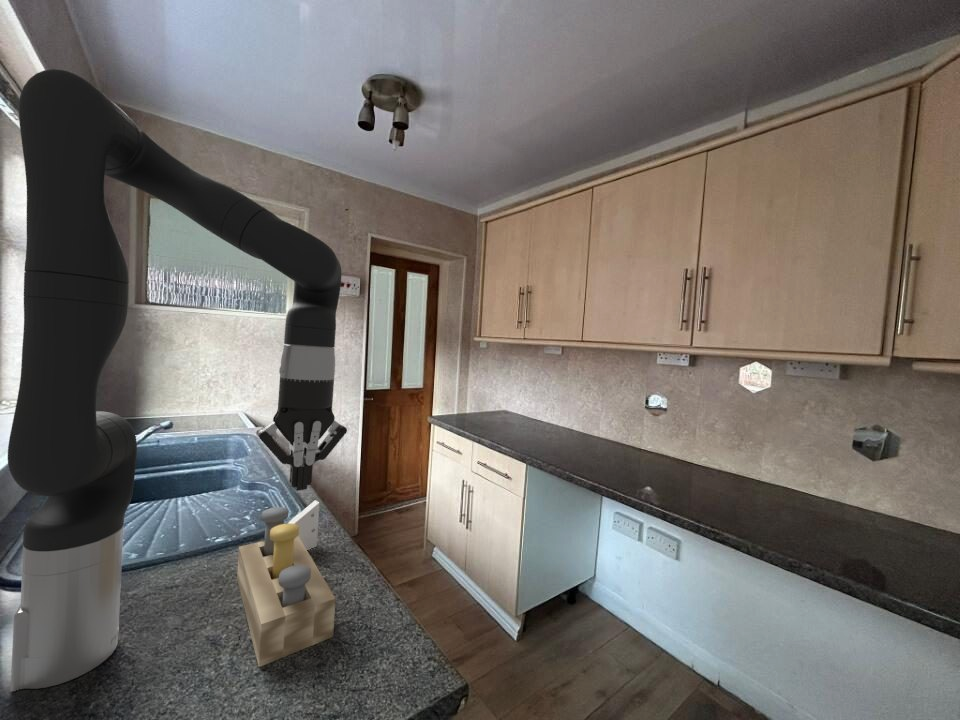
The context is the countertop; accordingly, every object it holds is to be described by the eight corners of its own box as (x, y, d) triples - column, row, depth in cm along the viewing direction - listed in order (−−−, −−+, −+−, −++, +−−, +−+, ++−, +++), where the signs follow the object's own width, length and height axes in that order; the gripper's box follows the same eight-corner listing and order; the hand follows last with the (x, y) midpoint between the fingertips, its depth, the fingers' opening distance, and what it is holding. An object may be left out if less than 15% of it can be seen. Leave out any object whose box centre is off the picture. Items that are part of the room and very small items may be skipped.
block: (258, 667, 52) (261, 624, 52) (237, 578, 71) (238, 546, 70) (333, 636, 58) (335, 598, 58) (295, 562, 77) (296, 533, 77)
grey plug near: (278, 646, 55) (282, 585, 55) (272, 627, 58) (276, 570, 58) (310, 633, 58) (314, 575, 58) (303, 616, 61) (306, 561, 61)
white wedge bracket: (335, 530, 86) (319, 502, 83) (296, 566, 80) (276, 538, 76) (327, 524, 89) (311, 497, 85) (288, 559, 82) (269, 532, 79)
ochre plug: (269, 593, 61) (272, 538, 61) (264, 579, 65) (267, 527, 64) (299, 584, 64) (302, 531, 64) (292, 571, 67) (295, 521, 67)
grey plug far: (261, 568, 67) (264, 519, 67) (257, 557, 71) (259, 510, 71) (288, 561, 70) (291, 513, 70) (283, 550, 74) (285, 505, 73)
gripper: (262, 377, 50) (254, 506, 51) (359, 378, 59) (351, 489, 59) (253, 372, 56) (246, 487, 56) (343, 374, 64) (336, 475, 65)
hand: (300, 488), depth 58 cm, fingers closed
